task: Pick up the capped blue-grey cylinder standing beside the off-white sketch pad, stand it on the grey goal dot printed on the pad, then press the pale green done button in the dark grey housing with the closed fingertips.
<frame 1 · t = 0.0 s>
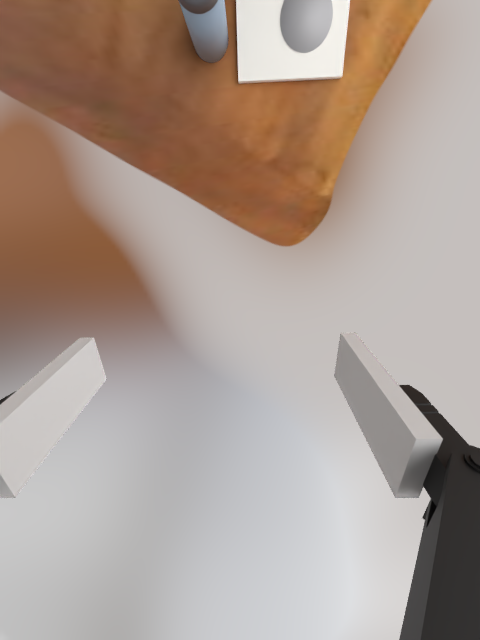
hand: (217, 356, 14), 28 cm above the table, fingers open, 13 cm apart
sketch pad: (291, 22, 29), on the table
capped blue-grey cylinder: (210, 39, 29), on the table
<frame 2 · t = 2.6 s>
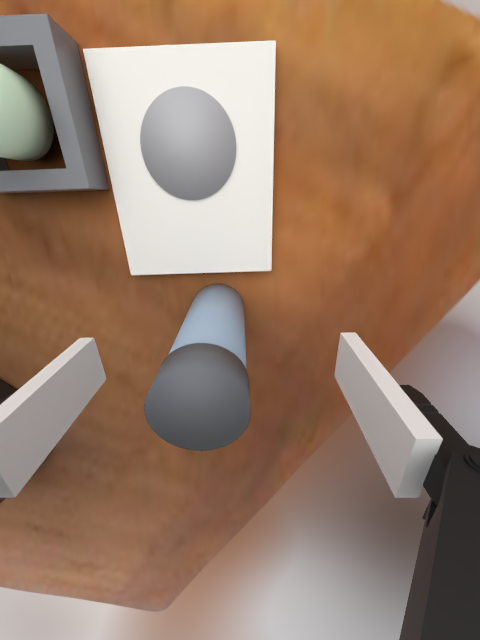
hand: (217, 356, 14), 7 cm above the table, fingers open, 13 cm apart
sketch pad: (193, 177, 17), on the table
button housing: (35, 125, 15), on the table
capped blue-grey cylinder: (218, 308, 20), on the table
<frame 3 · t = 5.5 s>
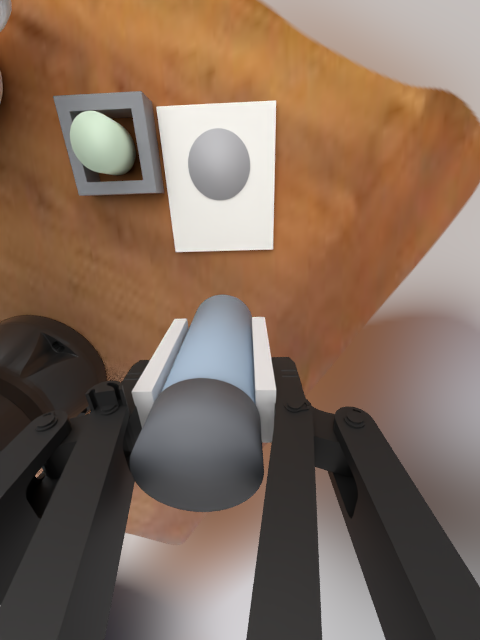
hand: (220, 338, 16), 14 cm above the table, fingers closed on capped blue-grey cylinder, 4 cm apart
sketch pad: (220, 185, 25), on the table
button housing: (120, 151, 24), on the table
done button: (104, 146, 21), point 3 cm above the table, slide at 0.0 cm
capped blue-grey cylinder: (223, 321, 18), point 11 cm above the table, touching gripper
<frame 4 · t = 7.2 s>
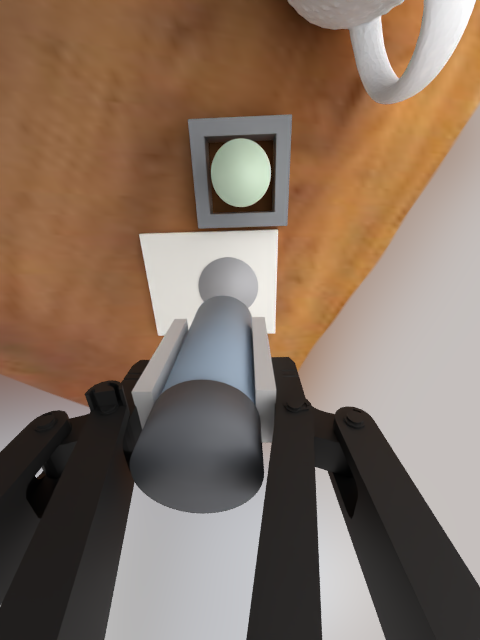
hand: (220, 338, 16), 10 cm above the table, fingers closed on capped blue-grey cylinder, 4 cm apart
sketch pad: (213, 285, 25), on the table
button housing: (241, 178, 21), on the table
done button: (241, 175, 19), point 3 cm above the table, slide at 0.0 cm
capped blue-grey cylinder: (223, 322, 18), point 8 cm above the table, touching gripper
when the fingers open (2 cm above the table, at t = 9.3 s): capped blue-grey cylinder stays where it is, resting on sketch pad.
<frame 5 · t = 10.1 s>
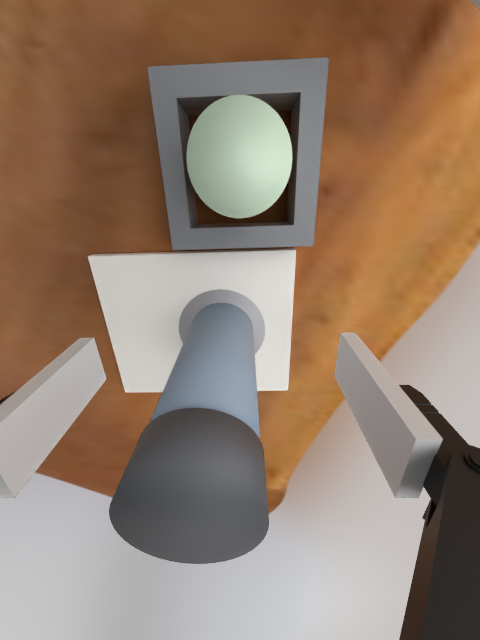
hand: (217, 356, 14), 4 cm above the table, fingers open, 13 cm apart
sketch pad: (200, 326, 18), on the table
button housing: (240, 172, 14), on the table
done button: (239, 165, 11), point 3 cm above the table, slide at 0.0 cm
capped blue-grey cylinder: (222, 331, 17), point 1 cm above the table, touching sketch pad
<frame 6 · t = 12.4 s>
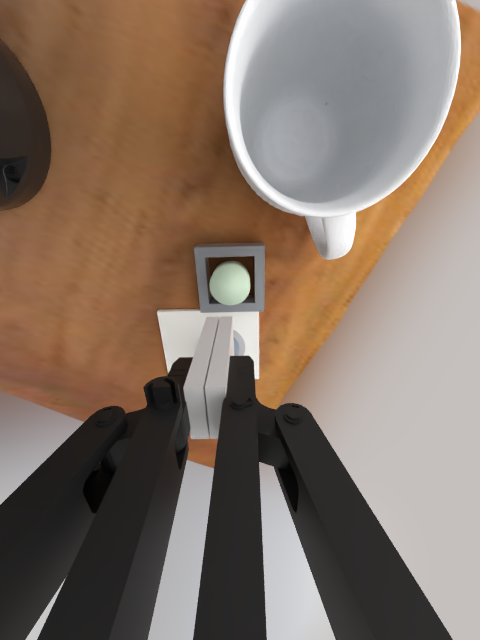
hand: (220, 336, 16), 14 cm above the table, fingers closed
sketch pad: (211, 344, 33), on the table
button housing: (231, 275, 29), on the table
mug: (295, 158, 25), on the table
done button: (230, 282, 27), point 3 cm above the table, slide at 0.0 cm
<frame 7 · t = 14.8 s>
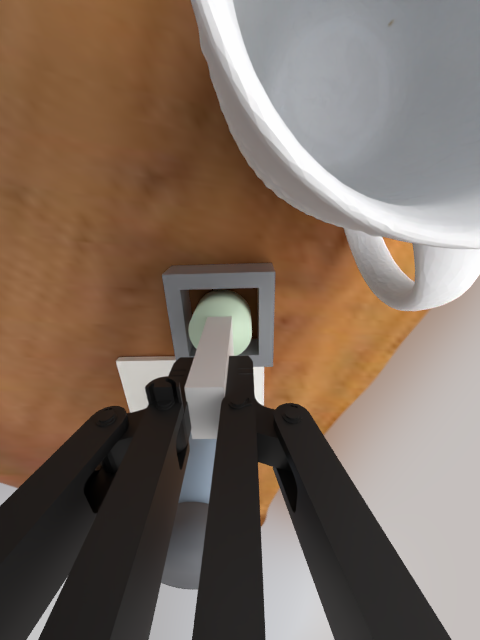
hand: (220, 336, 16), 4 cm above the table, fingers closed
sketch pad: (196, 402, 24), on the table
button housing: (224, 310, 20), on the table
mug: (325, 130, 15), on the table
done button: (221, 323, 18), point 2 cm above the table, slide at -0.6 cm, touching gripper
capped blue-grey cylinder: (213, 408, 23), point 1 cm above the table, touching sketch pad
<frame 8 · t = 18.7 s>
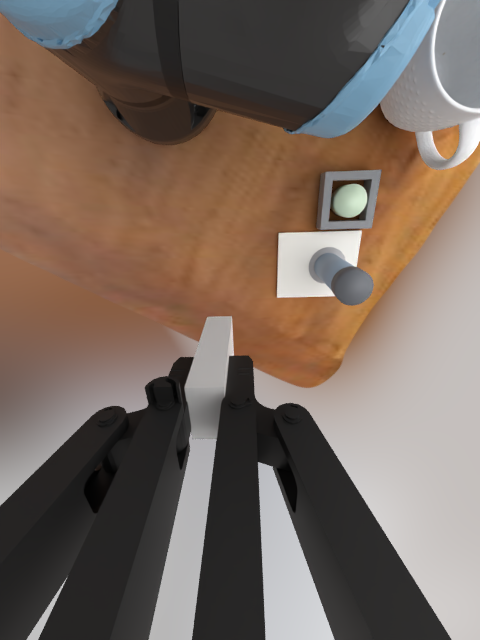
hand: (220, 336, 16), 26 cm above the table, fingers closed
sketch pad: (316, 265, 41), on the table
button housing: (343, 200, 37), on the table
mug: (408, 101, 32), on the table
done button: (347, 201, 35), point 2 cm above the table, slide at -1.1 cm
capped blue-grey cylinder: (327, 266, 40), point 1 cm above the table, touching sketch pad
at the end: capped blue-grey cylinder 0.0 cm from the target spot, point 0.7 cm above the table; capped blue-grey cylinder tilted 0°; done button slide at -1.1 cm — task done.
